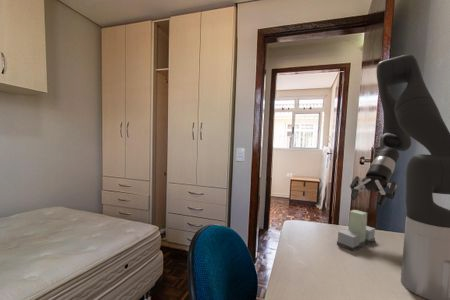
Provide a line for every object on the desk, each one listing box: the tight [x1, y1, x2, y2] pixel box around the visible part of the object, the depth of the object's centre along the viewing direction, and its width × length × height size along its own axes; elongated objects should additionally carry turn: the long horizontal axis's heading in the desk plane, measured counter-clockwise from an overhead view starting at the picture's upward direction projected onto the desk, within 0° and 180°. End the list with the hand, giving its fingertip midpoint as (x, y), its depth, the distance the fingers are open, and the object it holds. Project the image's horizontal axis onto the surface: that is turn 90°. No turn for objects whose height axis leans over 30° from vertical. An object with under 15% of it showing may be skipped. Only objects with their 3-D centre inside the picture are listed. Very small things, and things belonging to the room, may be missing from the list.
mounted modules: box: [337, 225, 376, 248], centre depth 78 cm, size 5×16×4 cm, turn 124°
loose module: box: [347, 209, 368, 243], centre depth 78 cm, size 4×4×10 cm
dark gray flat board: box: [336, 237, 376, 252], centre depth 78 cm, size 6×16×1 cm, turn 124°
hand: (365, 201), depth 81 cm, fingers open, 8 cm apart
